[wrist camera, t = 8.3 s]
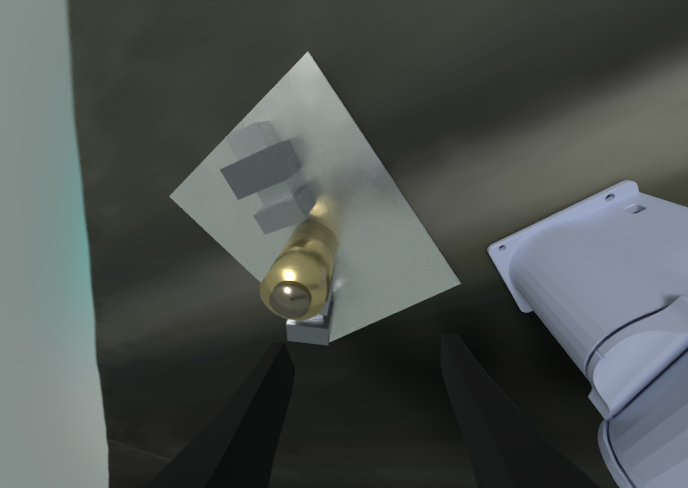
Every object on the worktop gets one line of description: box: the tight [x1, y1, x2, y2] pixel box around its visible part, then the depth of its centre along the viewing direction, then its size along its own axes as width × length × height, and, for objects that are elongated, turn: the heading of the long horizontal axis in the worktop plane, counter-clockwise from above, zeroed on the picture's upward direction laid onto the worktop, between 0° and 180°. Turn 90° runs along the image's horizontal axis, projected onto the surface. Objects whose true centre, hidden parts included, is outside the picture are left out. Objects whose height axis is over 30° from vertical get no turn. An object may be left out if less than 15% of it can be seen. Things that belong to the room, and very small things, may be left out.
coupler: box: [260, 222, 338, 320], centre depth 17 cm, size 4×4×7 cm
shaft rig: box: [170, 52, 461, 345], centre depth 19 cm, size 15×20×4 cm
